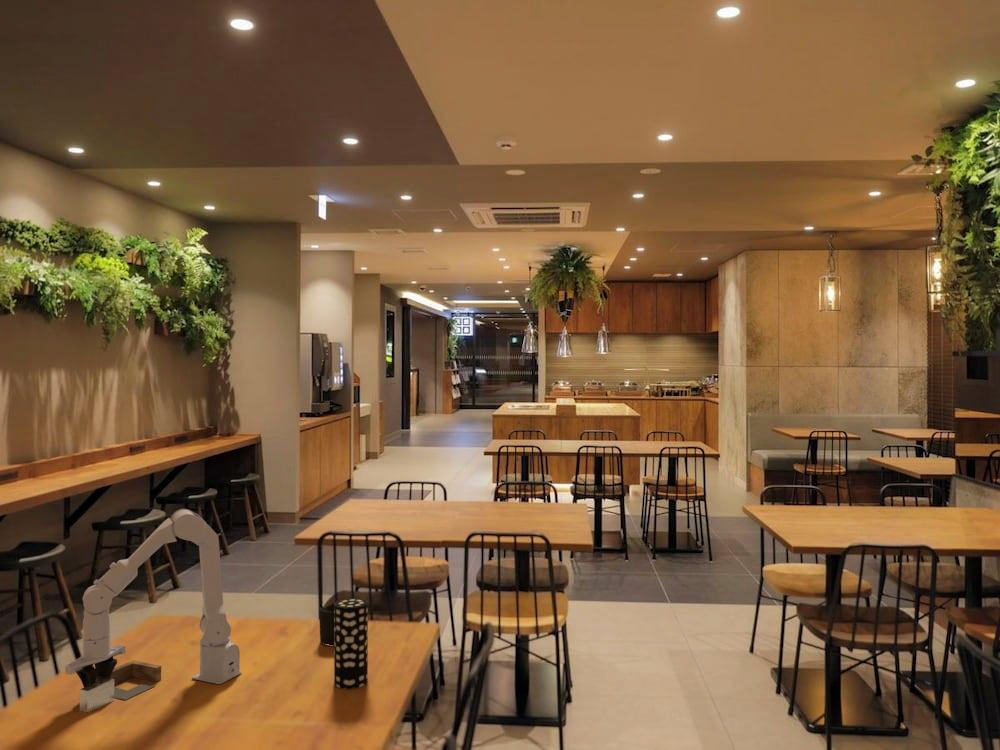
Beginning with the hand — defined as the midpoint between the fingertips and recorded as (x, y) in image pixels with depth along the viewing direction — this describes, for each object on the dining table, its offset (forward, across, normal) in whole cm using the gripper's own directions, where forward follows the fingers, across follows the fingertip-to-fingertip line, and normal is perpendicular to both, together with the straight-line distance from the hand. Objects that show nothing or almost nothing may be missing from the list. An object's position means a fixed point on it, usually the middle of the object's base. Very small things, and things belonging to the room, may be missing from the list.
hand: (96, 693), depth 171 cm
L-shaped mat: (+1, -7, +3) cm, 7 cm away
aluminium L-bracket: (+1, +2, +1) cm, 3 cm away
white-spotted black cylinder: (+2, -32, +51) cm, 60 cm away
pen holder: (+2, -54, +30) cm, 62 cm away
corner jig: (+1, -9, 0) cm, 9 cm away
